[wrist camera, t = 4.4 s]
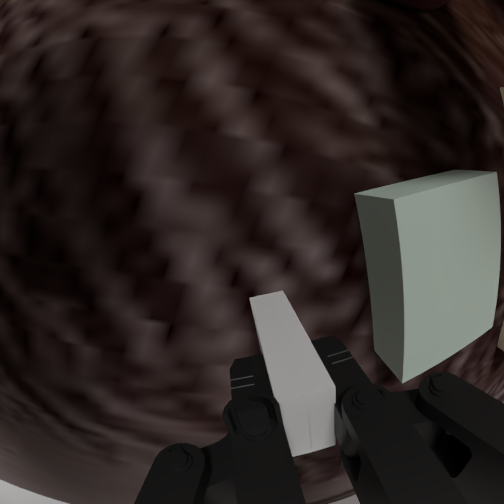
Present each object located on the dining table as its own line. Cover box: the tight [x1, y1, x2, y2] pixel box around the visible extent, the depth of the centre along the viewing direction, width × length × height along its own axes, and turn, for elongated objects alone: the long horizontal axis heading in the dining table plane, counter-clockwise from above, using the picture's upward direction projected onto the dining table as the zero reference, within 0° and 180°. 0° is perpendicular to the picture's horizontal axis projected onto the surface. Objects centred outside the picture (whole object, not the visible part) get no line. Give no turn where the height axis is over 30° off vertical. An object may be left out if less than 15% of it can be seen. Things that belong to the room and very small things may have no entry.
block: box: [354, 170, 501, 383], centre depth 14 cm, size 10×8×4 cm
